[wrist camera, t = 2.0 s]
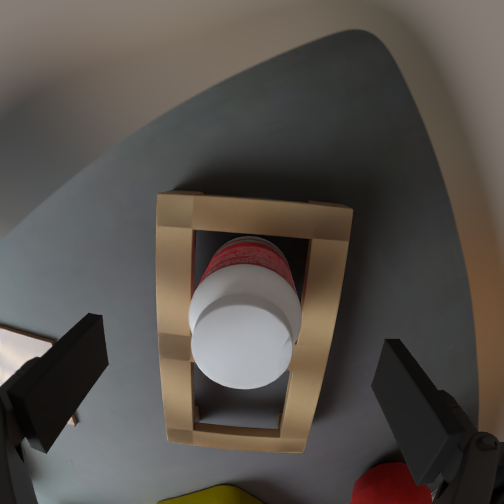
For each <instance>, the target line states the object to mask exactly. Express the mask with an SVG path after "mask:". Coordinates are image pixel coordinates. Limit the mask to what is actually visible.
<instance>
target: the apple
mask: <svg viewBox="0 0 504 504" xmlns="http://www.w3.org/2000/svg"><path fill="white" fill-rule="evenodd" d="M350 504H432V496H431V490H430V489H429V488H428V486H427V485H426V484H424V485H419V486H416V484H415V482H414V480H413V477H412V475H411V473H410V470H409V468H408V466H407V465H406V464H404V463H402V462H394V463H383V464H379V465H377V466H375V467H373V468H371V469H370V470H368V471H367V472H366V473H364V474H363V475H362V476H361V477H360V478H359V479H358V480H357V481H356V482H355V484H354V487H353V493H352V497H351V502H350Z"/></svg>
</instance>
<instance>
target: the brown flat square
mask: <svg viewBox="0 0 504 504" xmlns="http://www.w3.org/2000/svg"><path fill="white" fill-rule="evenodd" d="M54 344H55V341H54V340H51V339H47V338H43V337H40V336H36V335H32V334H29V333H25V332H22V331H19V330H15V329H12V328H9V327H6V326H2V325H0V386H1V385H2V384H3V383H4V382H5V381H6V380H8V379H9V378H10V377H11V376H12V375H13V374H15V372H16V371H17V370H18V369H20V367H21V366H22V365H23V364H24V363H25V362H27V361H28V360H30V359H32V358H34V357H36V356H37V357H41V356H42V355H43V354H45V353H46V352H47V351H48V350H49V349H50V348H51V347H52V346H53V345H54ZM67 424H69V425H72V426H76V425H77V422H76V419H75V416H74V414H73V415H72V417H71V418H70V420H69V421H68V422H67Z"/></svg>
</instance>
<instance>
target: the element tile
mask: <svg viewBox="0 0 504 504" xmlns="http://www.w3.org/2000/svg"><path fill="white" fill-rule="evenodd" d="M157 504H265V503H263V502H261V501H259V500H258V499H256V498H254V497H253V496H251V495H249V494H248V493H246V492H245V491H243V490H241V489H240V488H238V487H235V486H232V485H219V486H215V487H212V488H208V489H205V490H202V491H199V492H195V493H192V494H188V495H184V496H180V497H177V498H173V499H169V500H164V501H160V502H158V503H157Z"/></svg>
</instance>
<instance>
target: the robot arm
mask: <svg viewBox="0 0 504 504" xmlns="http://www.w3.org/2000/svg"><path fill="white" fill-rule="evenodd" d="M108 365H109V363H108V357H107V350H106V343H105V335H104V327H103V318H102V315H97V314H91V313H88V314H87V315H86V316H85V317H84V318H82V319H81V320H80V321H79V322H78V323H77V324H76V325H75V326H74V327H72V328H71V329H70V330H69V331H68V332H67V333H66V334H65V335H64V336H63V337H62V338H61V339H59V340H58V341H57V342H56V343H55V344H54V345H53V346H52V347H51V348H50V349H49V350H48V351H47V352H46V353H45V354H43V355H42V356H41V357H37V356H36V357H34V358H32V359H30V360H28V361H27V362H25V363H24V364H23V365H22V366H21V367H20V369H18V370H17V371H16V372H15V374H13V375H12V376H11V377H10V378H9V379H8V380H6V381H5V382H4V383H3V384H2V385H1V386H0V504H38V502H37V499H36V495H35V492H34V488H33V485H32V481H31V477H30V473H29V469H28V464H27V460H26V455H25V450H24V447H23V445H22V443H21V442H22V441H23V439H24V438H25V437H26V438H27V440H28V442H29V444H30V446H31V447H32V448H34V449H36V450H39V451H41V452H43V453H46V454H47V452H48V451H49V449H50V448H51V446H52V445H53V443H54V442H55V440H56V439H57V437H58V436H59V434H60V433H61V431H62V430H63V428H64V427H65V425H66V424H67V422H68V421H69V420H70V418H71V417H72V415H73V414H74V412H75V411H76V409H77V408H78V407H79V405H80V404H81V402H82V401H83V399H84V398H85V397H86V395H87V394H88V392H89V391H90V390H91V388H92V387H93V385H94V384H95V383H96V381H97V380H98V378H99V377H100V376H101V374H102V373H103V371H104V370H105V369H106V367H107V366H108ZM371 387H372V389H373V391H374V393H375V396H376V398H377V400H378V402H379V404H380V406H381V408H382V410H383V413H384V415H385V417H386V419H387V421H388V423H389V426H390V428H391V430H392V432H393V434H394V437H395V439H396V441H397V443H398V445H399V448H400V450H401V452H402V454H403V457H404V459H405V461H406V463H407V466H408V468H409V470H410V473H411V475H412V477H413V480H414V482H415V484H416V486H419V485H424V484H428V483H432V482H434V481H435V479H436V478H437V476H438V475H439V473H440V472H441V474H442V476H443V478H444V479H443V481H442V482H441V483H440V485H439V486H438V487H437V489H436V490H435V491H434V493H433V494H432V495H431V496H434V495H435V494H436V495H435V497H434V500H433V502H432V504H504V442H499V441H498V439H497V438H496V437H495V436H493V435H492V434H490V433H488V432H478V430H477V429H476V428H475V426H474V425H473V423H472V422H471V421H470V419H469V418H468V417H467V415H466V414H465V412H463V410H462V408H461V407H460V406H458V403H457V402H456V400H455V399H454V398H453V396H451V395H450V394H449V393H447V392H446V391H444V390H437V388H436V387H435V385H434V384H433V383H432V381H431V380H430V379H429V377H428V376H427V375H426V373H425V372H424V371H423V369H422V368H421V367H420V365H419V364H418V363H417V361H416V360H415V359H414V357H413V356H412V355H411V353H410V352H409V351H408V349H407V348H406V347H405V346H404V344H403V343H402V342H401V340H400V339H385V341H384V345H383V348H382V352H381V356H380V359H379V362H378V366H377V369H376V372H375V376H374V379H373V382H372V385H371Z"/></svg>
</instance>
